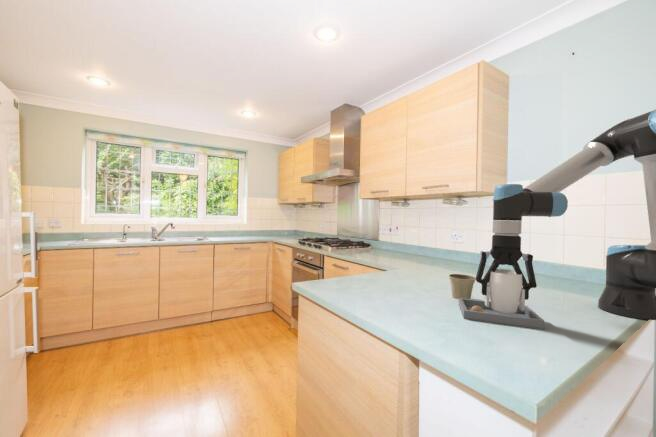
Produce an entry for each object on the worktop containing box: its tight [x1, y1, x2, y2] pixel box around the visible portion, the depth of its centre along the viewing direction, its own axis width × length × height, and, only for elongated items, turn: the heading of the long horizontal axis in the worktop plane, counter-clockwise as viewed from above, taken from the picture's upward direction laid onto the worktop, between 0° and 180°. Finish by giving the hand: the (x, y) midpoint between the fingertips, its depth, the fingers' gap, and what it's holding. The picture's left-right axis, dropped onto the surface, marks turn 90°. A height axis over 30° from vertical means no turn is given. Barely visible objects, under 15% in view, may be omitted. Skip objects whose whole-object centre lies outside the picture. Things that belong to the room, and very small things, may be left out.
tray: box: [458, 298, 545, 330], centre depth 87 cm, size 20×14×3 cm
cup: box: [488, 268, 523, 314], centre depth 87 cm, size 9×9×12 cm
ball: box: [471, 305, 484, 312], centre depth 85 cm, size 4×4×4 cm
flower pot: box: [448, 273, 476, 300], centre depth 106 cm, size 9×9×9 cm
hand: (503, 307), depth 87 cm, fingers closed on cup, 9 cm apart
